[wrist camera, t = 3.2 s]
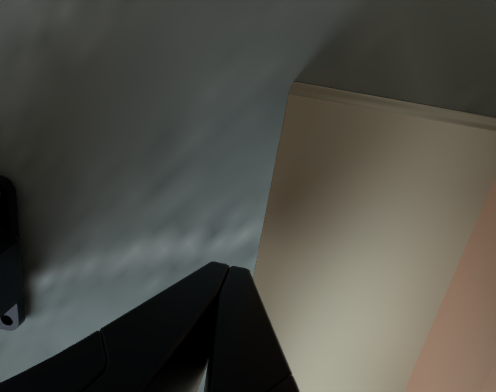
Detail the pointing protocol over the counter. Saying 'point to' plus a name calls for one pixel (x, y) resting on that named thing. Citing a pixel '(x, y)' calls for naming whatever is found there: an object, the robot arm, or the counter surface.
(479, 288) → the blush pink tile
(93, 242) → the counter surface
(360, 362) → the deck
